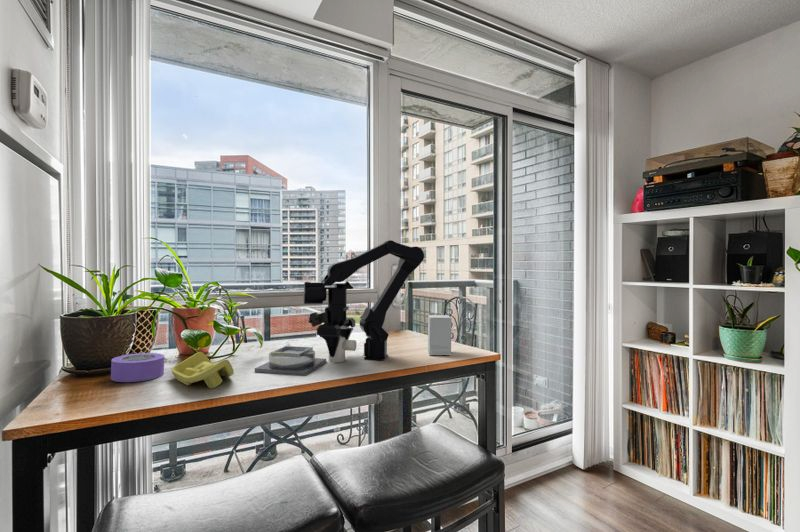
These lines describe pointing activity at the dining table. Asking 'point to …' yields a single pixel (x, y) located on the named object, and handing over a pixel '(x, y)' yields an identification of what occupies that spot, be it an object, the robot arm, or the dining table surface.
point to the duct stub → (291, 361)
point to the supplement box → (439, 334)
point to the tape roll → (137, 367)
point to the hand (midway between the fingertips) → (337, 353)
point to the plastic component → (202, 370)
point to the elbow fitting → (343, 350)
